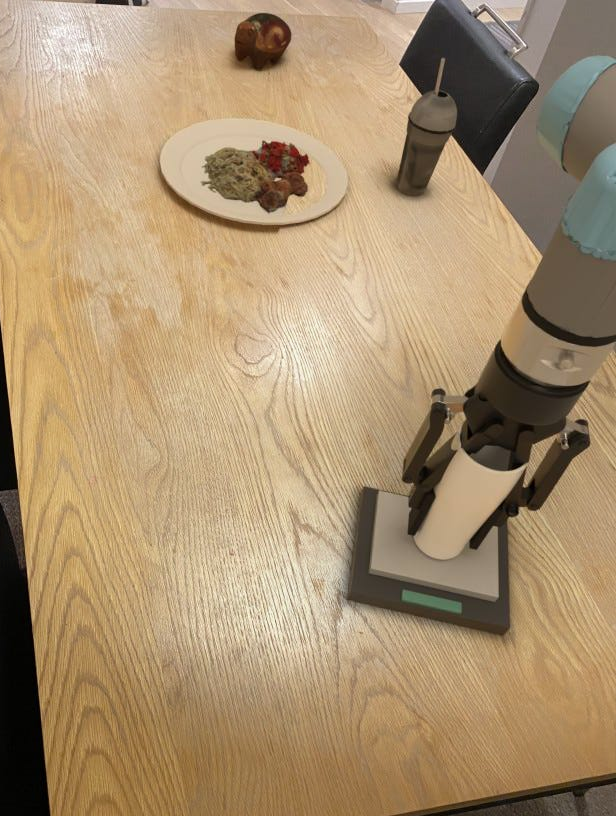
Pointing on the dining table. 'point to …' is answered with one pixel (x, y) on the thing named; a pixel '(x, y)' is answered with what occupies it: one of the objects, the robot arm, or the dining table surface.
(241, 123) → the plated food
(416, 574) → the scale
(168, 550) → the dining table surface
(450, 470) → the drinking glass
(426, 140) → the beverage cup
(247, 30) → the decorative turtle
